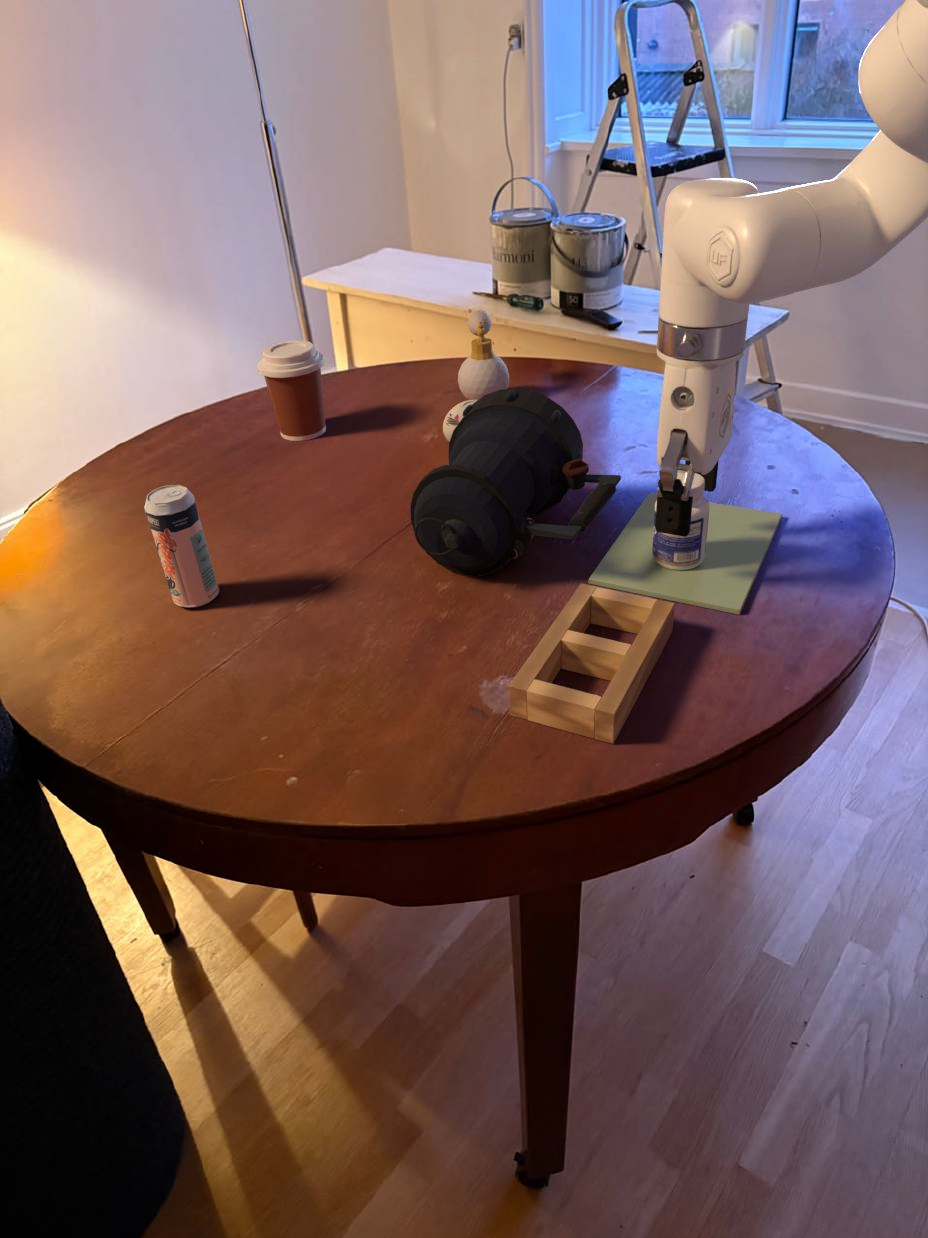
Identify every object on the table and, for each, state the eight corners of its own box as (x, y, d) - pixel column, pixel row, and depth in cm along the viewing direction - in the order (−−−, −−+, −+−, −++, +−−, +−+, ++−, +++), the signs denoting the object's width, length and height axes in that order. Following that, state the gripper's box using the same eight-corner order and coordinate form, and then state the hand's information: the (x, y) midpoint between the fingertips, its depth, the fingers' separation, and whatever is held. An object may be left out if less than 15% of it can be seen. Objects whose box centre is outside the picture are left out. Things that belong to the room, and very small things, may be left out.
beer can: (172, 591, 93) (141, 488, 86) (218, 581, 94) (191, 479, 87) (174, 615, 90) (141, 509, 83) (222, 604, 90) (193, 499, 84)
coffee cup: (341, 418, 130) (328, 336, 123) (327, 444, 122) (312, 358, 115) (281, 419, 131) (265, 338, 124) (263, 445, 123) (245, 360, 117)
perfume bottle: (472, 414, 128) (467, 330, 121) (445, 394, 135) (438, 314, 128) (519, 403, 130) (516, 320, 123) (489, 383, 137) (485, 304, 130)
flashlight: (466, 491, 107) (631, 507, 101) (399, 595, 92) (588, 621, 86) (453, 377, 98) (633, 386, 92) (376, 471, 83) (585, 490, 77)
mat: (781, 518, 97) (782, 513, 97) (739, 615, 83) (740, 609, 83) (648, 497, 104) (648, 492, 103) (588, 583, 89) (588, 578, 89)
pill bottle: (662, 541, 94) (667, 463, 89) (711, 551, 92) (719, 472, 87) (643, 564, 90) (648, 485, 85) (694, 576, 88) (701, 495, 83)
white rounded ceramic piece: (464, 466, 113) (460, 417, 110) (434, 453, 117) (430, 405, 114) (510, 447, 117) (508, 398, 114) (480, 435, 121) (477, 387, 118)
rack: (672, 631, 82) (675, 602, 80) (613, 744, 70) (614, 713, 68) (580, 611, 85) (580, 583, 84) (509, 715, 74) (508, 685, 72)
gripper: (719, 373, 70) (701, 559, 80) (765, 311, 83) (744, 478, 92) (628, 365, 73) (621, 545, 83) (685, 305, 86) (673, 468, 95)
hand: (686, 510), depth 88 cm, fingers open, 9 cm apart
